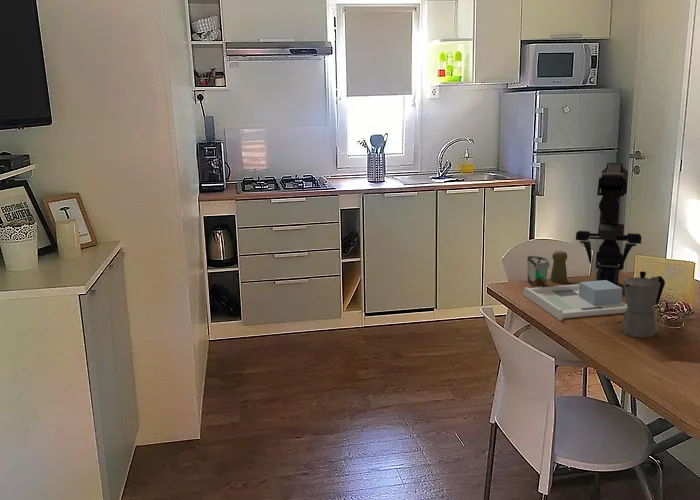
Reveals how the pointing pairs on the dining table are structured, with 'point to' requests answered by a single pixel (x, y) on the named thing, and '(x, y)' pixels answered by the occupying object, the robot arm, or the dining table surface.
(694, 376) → the dining table surface
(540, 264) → the food container
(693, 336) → the dining table surface
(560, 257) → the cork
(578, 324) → the dining table surface
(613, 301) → the slate block
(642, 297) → the coffeepot
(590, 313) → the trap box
